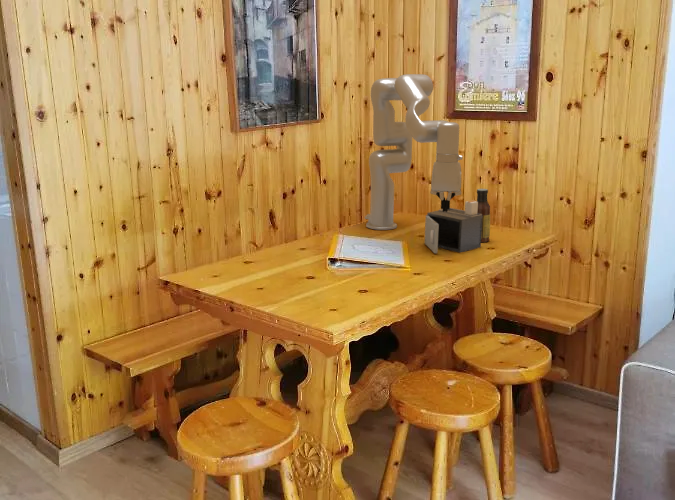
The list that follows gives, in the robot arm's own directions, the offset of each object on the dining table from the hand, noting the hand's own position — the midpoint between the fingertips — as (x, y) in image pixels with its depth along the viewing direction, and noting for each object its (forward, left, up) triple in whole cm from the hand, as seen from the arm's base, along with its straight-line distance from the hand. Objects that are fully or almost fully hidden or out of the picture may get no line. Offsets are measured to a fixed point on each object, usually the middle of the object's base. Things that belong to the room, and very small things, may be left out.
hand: (445, 211), depth 250 cm
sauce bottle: (-3, +25, -16) cm, 30 cm away
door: (-7, 0, -15) cm, 16 cm away
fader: (0, +14, -3) cm, 15 cm away
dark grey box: (-5, +11, -15) cm, 20 cm away
